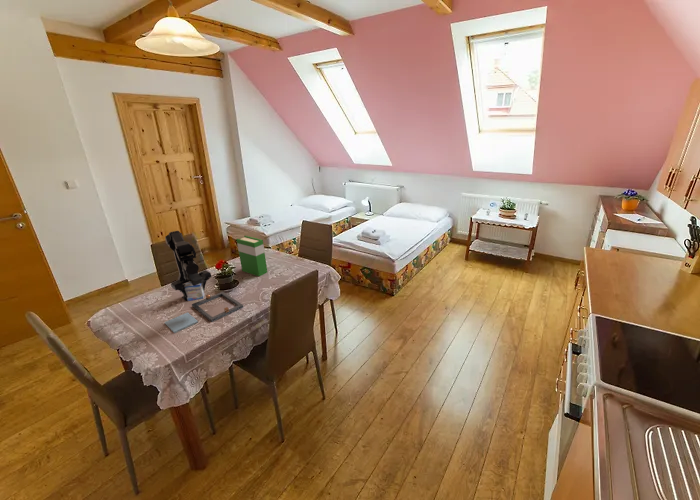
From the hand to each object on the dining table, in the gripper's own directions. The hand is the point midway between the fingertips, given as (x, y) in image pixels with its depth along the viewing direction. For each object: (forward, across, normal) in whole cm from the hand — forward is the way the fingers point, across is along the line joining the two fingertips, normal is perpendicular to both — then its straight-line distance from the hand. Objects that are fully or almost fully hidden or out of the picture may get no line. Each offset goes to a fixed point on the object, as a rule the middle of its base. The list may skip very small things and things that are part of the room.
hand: (195, 294), depth 169 cm
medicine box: (+3, 0, 0) cm, 3 cm away
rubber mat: (+13, -10, 0) cm, 16 cm away
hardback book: (+13, +50, +23) cm, 56 cm away
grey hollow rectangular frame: (+13, +10, 0) cm, 16 cm away
